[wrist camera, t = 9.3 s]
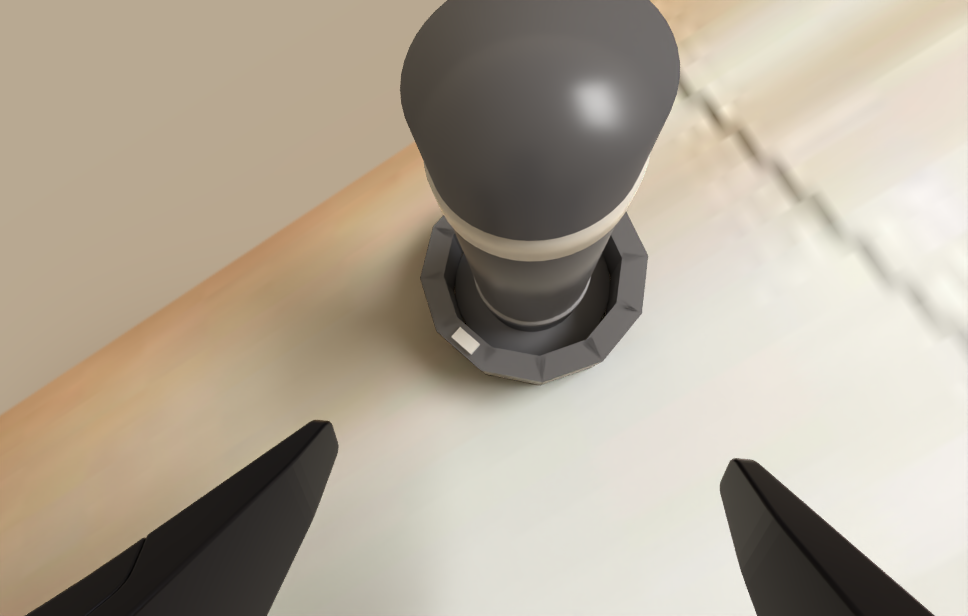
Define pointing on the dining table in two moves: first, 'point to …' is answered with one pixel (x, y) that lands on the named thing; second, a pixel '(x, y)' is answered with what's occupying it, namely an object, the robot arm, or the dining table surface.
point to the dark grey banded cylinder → (537, 136)
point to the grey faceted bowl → (542, 350)
